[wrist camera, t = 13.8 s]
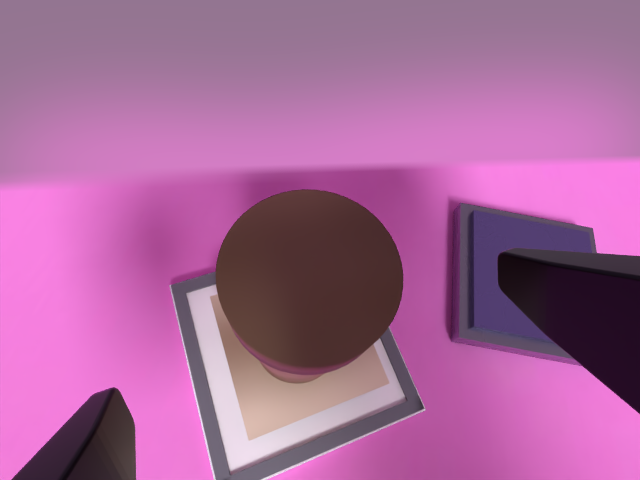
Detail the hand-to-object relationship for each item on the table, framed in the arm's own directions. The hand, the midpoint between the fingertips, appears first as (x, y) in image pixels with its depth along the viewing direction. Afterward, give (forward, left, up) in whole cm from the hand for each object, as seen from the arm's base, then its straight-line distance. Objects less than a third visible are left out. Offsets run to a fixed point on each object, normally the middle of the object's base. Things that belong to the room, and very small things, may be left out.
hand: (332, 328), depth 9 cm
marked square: (+1, +2, -11) cm, 12 cm away
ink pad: (+13, -4, -11) cm, 18 cm away
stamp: (+1, +1, -11) cm, 11 cm away
